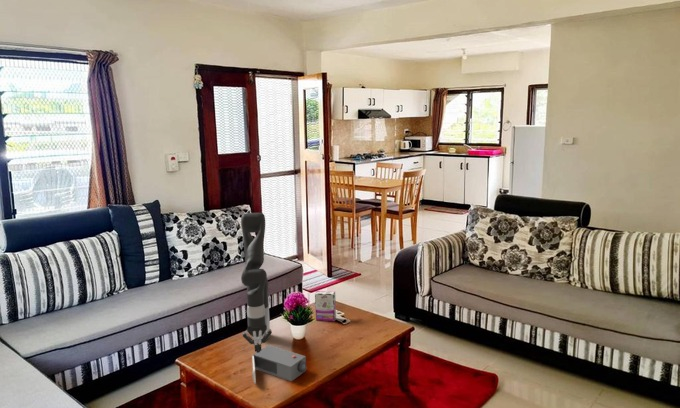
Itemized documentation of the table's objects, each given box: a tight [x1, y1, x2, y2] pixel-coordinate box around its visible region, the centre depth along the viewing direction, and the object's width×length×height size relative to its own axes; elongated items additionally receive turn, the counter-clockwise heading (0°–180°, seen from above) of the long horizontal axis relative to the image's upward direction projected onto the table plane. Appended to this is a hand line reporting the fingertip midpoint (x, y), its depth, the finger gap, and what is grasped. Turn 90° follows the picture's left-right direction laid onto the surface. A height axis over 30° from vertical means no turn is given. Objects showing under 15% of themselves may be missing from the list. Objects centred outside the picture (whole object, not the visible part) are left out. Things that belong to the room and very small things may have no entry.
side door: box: [251, 354, 257, 385], centre depth 215 cm, size 14×1×6 cm, turn 12°
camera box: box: [252, 344, 308, 382], centre depth 221 cm, size 24×11×8 cm, turn 57°
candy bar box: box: [314, 290, 337, 322], centre depth 275 cm, size 11×5×16 cm, turn 80°
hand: (258, 351), depth 209 cm, fingers closed
